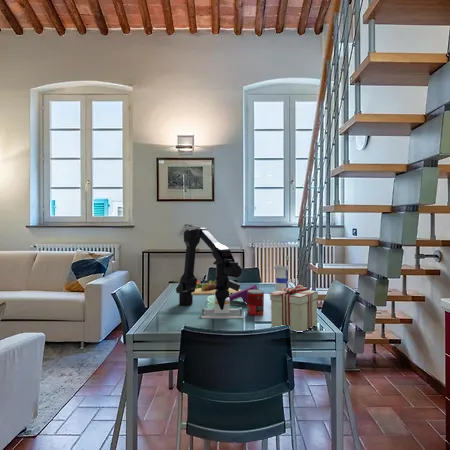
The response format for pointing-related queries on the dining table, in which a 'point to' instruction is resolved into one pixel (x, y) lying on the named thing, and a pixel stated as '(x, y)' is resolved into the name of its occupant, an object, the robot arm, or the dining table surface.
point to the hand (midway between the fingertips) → (221, 308)
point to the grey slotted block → (226, 306)
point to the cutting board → (208, 288)
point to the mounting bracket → (242, 293)
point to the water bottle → (281, 276)
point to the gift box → (294, 308)
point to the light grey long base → (210, 313)
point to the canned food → (255, 302)
